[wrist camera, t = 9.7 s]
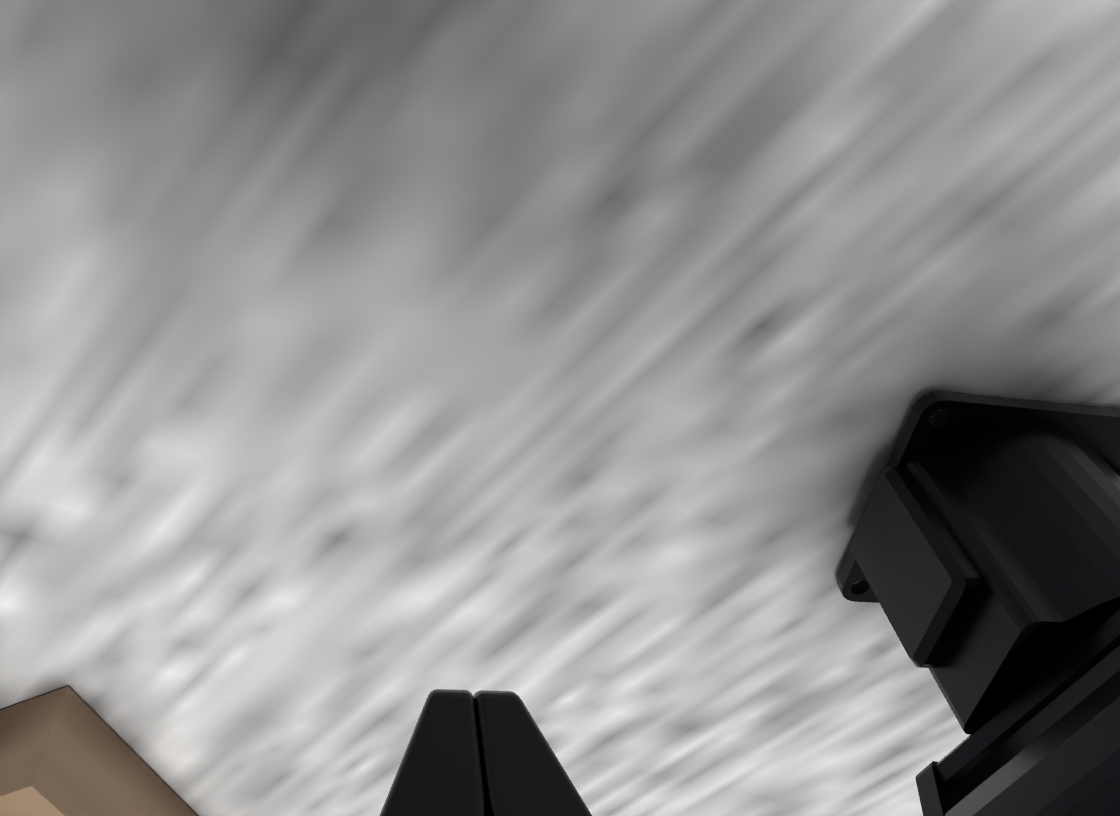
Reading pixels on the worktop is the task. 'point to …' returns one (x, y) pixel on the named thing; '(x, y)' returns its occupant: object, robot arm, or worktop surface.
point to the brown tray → (74, 764)
